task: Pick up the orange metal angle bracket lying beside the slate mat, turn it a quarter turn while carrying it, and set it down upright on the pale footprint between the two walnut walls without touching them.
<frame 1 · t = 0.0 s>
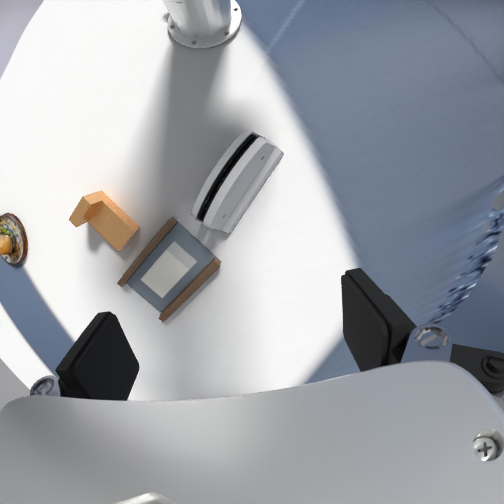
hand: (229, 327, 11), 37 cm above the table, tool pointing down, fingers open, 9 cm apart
bracket: (113, 218, 47), on the table
burger: (13, 238, 47), on the table
bay mat: (168, 270, 50), on the table
bay walls: (168, 270, 50), on the table
grey slotted curved block: (237, 180, 45), on the table
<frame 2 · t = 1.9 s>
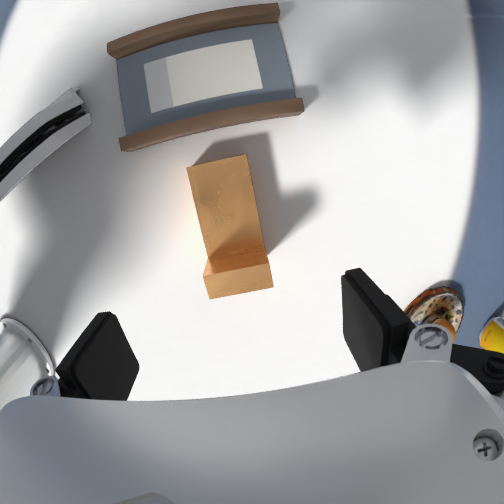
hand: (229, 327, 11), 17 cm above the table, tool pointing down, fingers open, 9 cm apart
bracket: (229, 212, 27), on the table
beer can: (488, 329, 34), on the table
burger: (426, 323, 33), on the table
bay mat: (201, 74, 22), on the table
bay walls: (201, 74, 22), on the table
grey slotted curved block: (38, 155, 23), on the table
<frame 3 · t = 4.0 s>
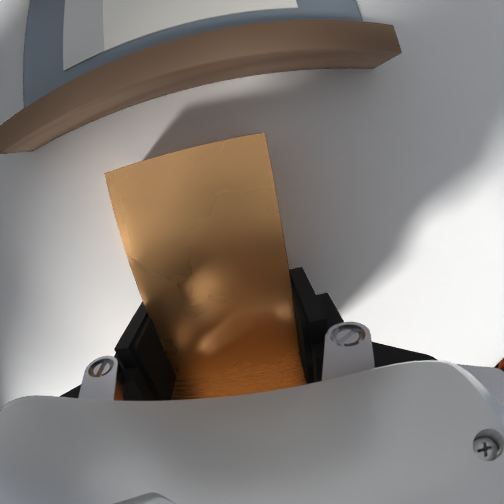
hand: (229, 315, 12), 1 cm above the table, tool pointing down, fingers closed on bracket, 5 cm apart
bracket: (222, 269, 12), on the table, touching gripper
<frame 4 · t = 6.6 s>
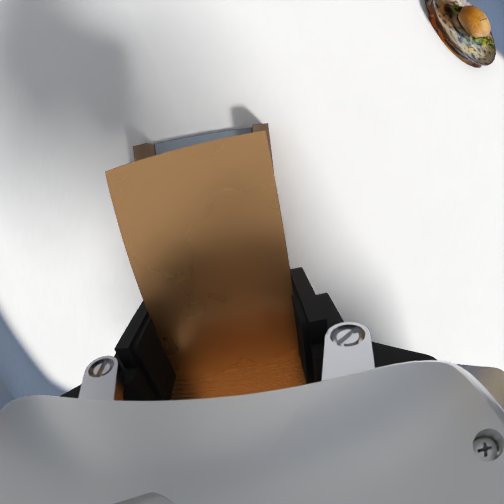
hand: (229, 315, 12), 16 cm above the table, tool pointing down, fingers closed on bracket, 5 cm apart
bracket: (222, 268, 12), point 15 cm above the table, touching gripper
burger: (458, 28, 19), on the table
bay mat: (214, 220, 26), on the table
bay walls: (214, 220, 26), on the table
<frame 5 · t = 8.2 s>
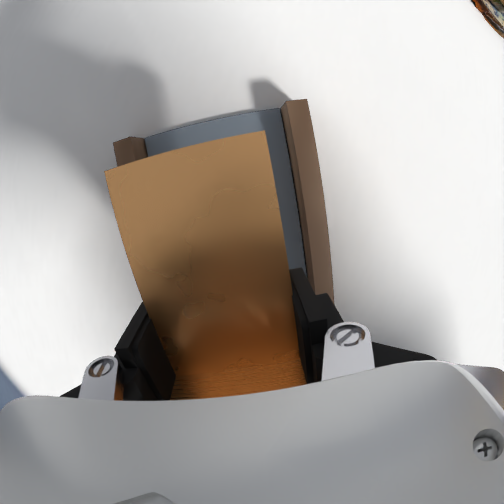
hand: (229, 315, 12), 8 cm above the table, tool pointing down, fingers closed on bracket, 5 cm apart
bracket: (222, 268, 12), point 7 cm above the table, touching gripper
burger: (490, 1, 11), on the table
bay mat: (234, 239, 19), on the table
bay walls: (234, 239, 19), on the table
when the fingers open (3 cm above the table, at t = 9.5 s): bracket drops 2 cm, resting on bay mat.
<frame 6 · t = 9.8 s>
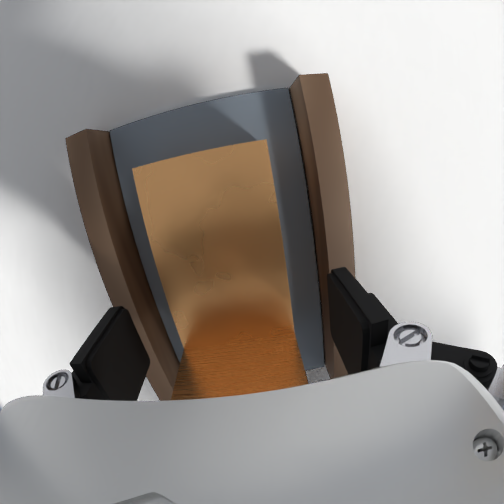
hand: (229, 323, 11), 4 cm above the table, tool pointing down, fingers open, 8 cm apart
bracket: (227, 255, 14), resting on bay mat
bay mat: (228, 263, 14), on the table
bay walls: (228, 263, 14), on the table
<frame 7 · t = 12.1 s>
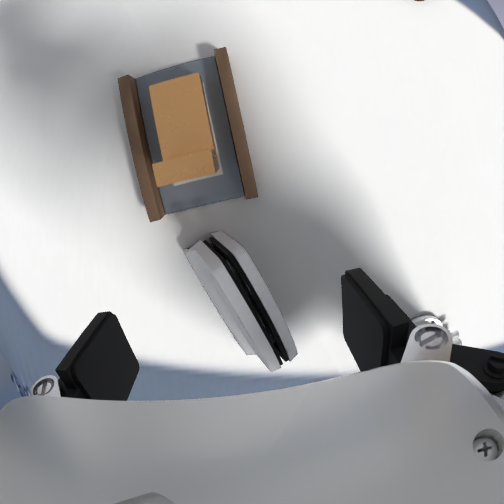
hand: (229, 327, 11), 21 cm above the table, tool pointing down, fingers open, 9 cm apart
bracket: (187, 128, 27), resting on bay mat
bay mat: (188, 133, 27), on the table
bay walls: (188, 133, 27), on the table
grey slotted curved block: (242, 291, 35), on the table
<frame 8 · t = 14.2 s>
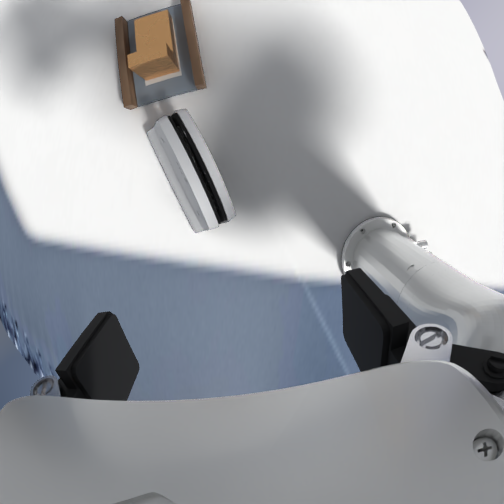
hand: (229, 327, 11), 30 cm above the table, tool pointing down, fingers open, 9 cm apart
bracket: (159, 47, 31), resting on bay mat
bay mat: (159, 51, 31), on the table
bay walls: (159, 51, 31), on the table
grey slotted curved block: (194, 170, 38), on the table
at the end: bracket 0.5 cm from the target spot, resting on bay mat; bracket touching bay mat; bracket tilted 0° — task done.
